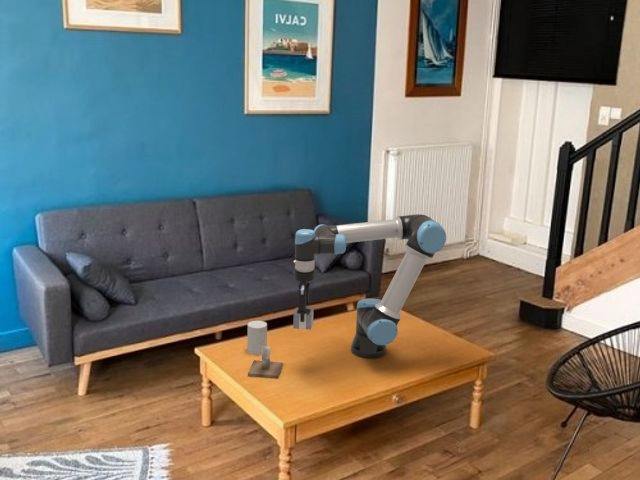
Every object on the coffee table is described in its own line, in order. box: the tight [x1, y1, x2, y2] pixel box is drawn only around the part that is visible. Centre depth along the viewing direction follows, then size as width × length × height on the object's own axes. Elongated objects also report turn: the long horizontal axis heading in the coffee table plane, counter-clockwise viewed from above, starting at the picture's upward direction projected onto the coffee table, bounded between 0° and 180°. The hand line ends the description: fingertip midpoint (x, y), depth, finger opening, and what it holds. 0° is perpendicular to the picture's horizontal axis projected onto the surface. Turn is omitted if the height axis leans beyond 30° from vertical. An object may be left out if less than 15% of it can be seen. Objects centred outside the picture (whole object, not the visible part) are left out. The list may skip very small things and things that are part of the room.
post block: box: [247, 344, 284, 379], centre depth 269 cm, size 12×12×10 cm
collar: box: [292, 307, 315, 331], centre depth 267 cm, size 7×7×6 cm
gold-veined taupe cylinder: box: [246, 320, 268, 356], centre depth 287 cm, size 8×8×12 cm
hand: (303, 324), depth 268 cm, fingers closed on collar, 7 cm apart
